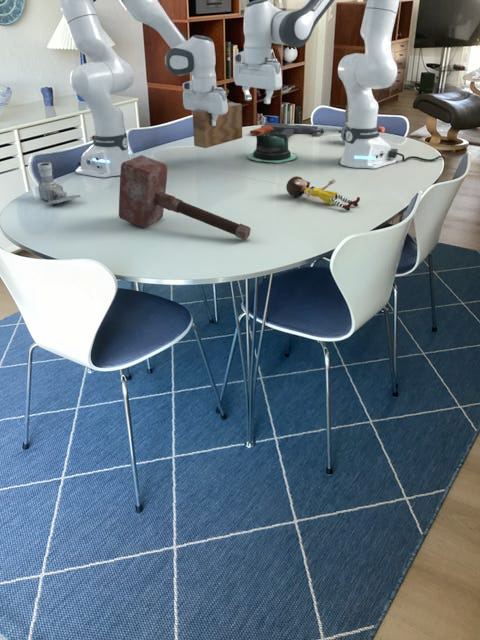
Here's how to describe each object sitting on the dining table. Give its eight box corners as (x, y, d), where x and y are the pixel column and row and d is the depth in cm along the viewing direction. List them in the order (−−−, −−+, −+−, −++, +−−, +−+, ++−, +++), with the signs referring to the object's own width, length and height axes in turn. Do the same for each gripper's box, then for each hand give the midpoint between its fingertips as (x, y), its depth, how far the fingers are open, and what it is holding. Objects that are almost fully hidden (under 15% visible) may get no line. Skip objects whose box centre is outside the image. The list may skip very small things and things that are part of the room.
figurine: (345, 200, 166) (278, 176, 178) (341, 223, 170) (275, 198, 182) (367, 189, 174) (301, 166, 186) (362, 211, 179) (298, 188, 191)
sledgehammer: (261, 199, 150) (139, 153, 161) (245, 210, 142) (119, 161, 154) (249, 254, 160) (136, 207, 171) (234, 267, 153) (116, 217, 164)
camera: (50, 159, 186) (76, 167, 177) (57, 193, 192) (81, 203, 184) (27, 164, 181) (51, 173, 172) (34, 199, 187) (58, 209, 178)
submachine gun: (243, 132, 260) (267, 122, 278) (243, 138, 261) (267, 127, 280) (305, 138, 246) (326, 127, 265) (305, 144, 248) (326, 133, 266)
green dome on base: (302, 149, 235) (294, 163, 219) (265, 168, 244) (254, 183, 227) (286, 117, 230) (276, 128, 213) (248, 137, 238) (236, 150, 222)
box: (205, 148, 210) (203, 112, 203) (194, 145, 213) (192, 110, 207) (242, 137, 224) (241, 103, 217) (231, 135, 227) (230, 102, 220)
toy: (345, 120, 249) (377, 123, 242) (343, 139, 253) (375, 143, 246) (337, 123, 243) (369, 127, 236) (336, 143, 247) (367, 147, 240)
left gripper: (231, 86, 199) (231, 126, 206) (191, 81, 211) (193, 119, 218) (219, 88, 195) (220, 129, 202) (179, 83, 207) (181, 122, 214)
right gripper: (287, 58, 175) (286, 104, 182) (244, 54, 189) (245, 97, 196) (272, 59, 172) (272, 106, 179) (230, 55, 185) (231, 99, 192)
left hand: (206, 124), depth 210 cm, fingers closed on box, 6 cm apart
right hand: (257, 102), depth 187 cm, fingers open, 8 cm apart
